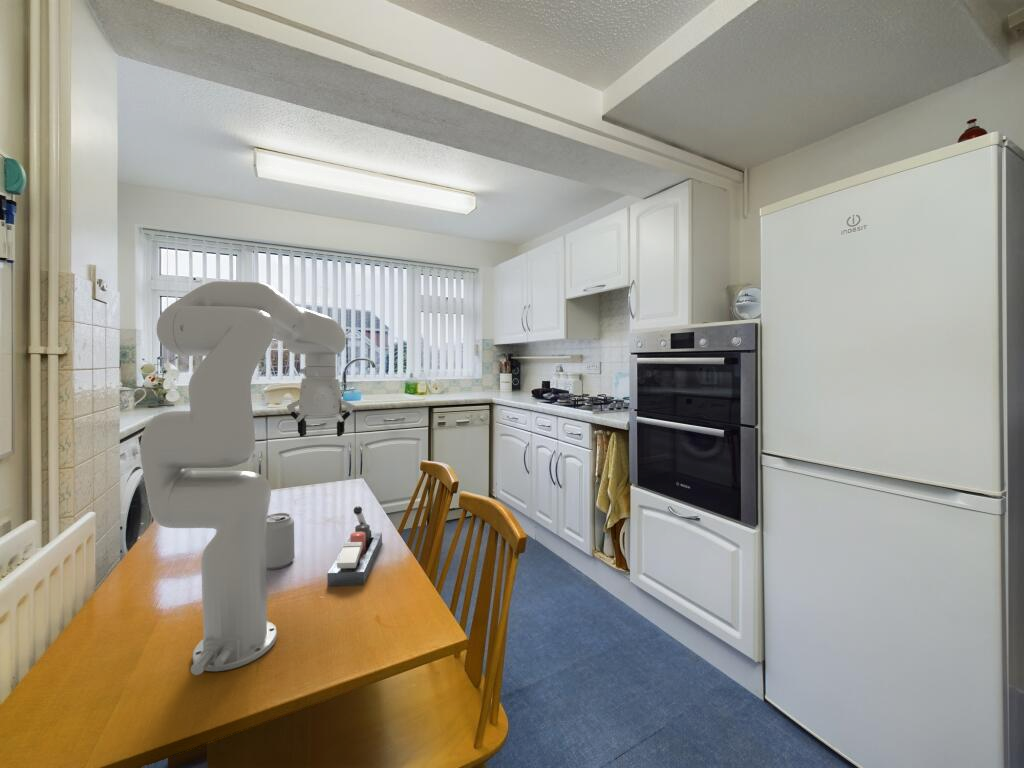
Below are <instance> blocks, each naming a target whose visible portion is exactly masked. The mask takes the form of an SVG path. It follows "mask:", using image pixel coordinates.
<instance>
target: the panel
mask: <svg viewBox="0 0 1024 768" xmlns="http://www.w3.org/2000/svg"><path fill="white" fill-rule="evenodd" d="M346 543H350V537H349V538H348V539H347V541H346ZM382 544H383V532H372V530H371V529H370V543H369V544H368V545H366V549H367V550H366V552H365V553H363V554H360V556H359V559H358V563H357V566H356V568H339V569H338V568H337V562H338V559H339V557H340V554H341V552H342V550H341V551H340V552H339V554H338V555H337V557H336V559H334V561H333V563H332V565H331V567H330V568H329V570H328V571H327V573H326V574H327V575H326V577H327V581H326V582H327V583H326V584H327V587H334V586H337V587H338V586H357V585H358V586H361V585H363V586H364V585H365V583H366V580H367V579H368V576H369V574H370V571H371V569H372V567H373V565H374V562H375V560H376V558H377V556H378V554H379V551H380V549H381V547H382Z"/></svg>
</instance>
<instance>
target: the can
mask: <svg viewBox="0 0 1024 768" xmlns="http://www.w3.org/2000/svg"><path fill="white" fill-rule="evenodd" d="M294 559H295V520H294V519H293V518H292V515H291V514H290V513H288V512H275V513H271V514H268V516H267V523H266V570H276V569H278V570H279V569H282V568H284V567H286V566H288V565H290V564H291V562H292V561H294Z"/></svg>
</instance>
